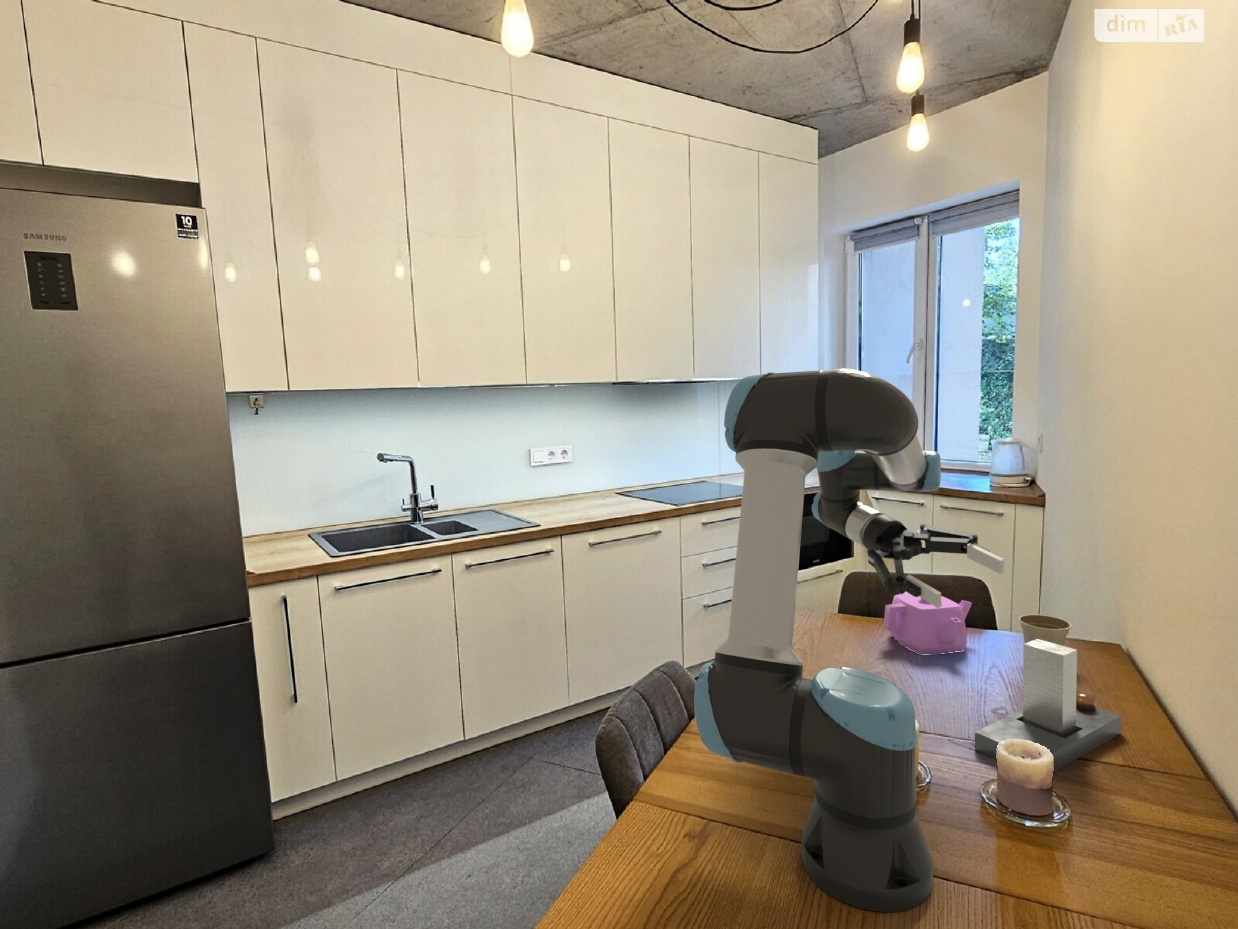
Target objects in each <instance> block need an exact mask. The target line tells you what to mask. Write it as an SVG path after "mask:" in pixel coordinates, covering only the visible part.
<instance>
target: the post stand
mask: <svg viewBox="0 0 1238 929" xmlns="http://www.w3.org/2000/svg"><path fill="white" fill-rule="evenodd" d="M1096 703H1097V696H1096V695H1095V694H1094V693H1092V692H1089V691H1084V690H1076V733H1074V734H1072V735H1070V736H1069V737H1067V738H1062V737H1060V736H1057V735H1055V734H1052V733H1050V732H1047V731H1045V730H1042V729H1039V728H1037V727H1034V726H1032V725H1029V724H1027V723H1024V722H1023V709H1020V710H1018V711H1016V712H1015V713H1012V714H1010V715H1008V716H1006V717H1004V718H1002V719H1000V720H997V721H995V722H993V723H991V724H988V725H987V726H985V727H982V728H980V729H978V730H976V731H974V750H975V751H976V752H980V754H981V753H982V754H983V755H985V756H988V757H990V758H992V757H993V758H992V759H995V760H996V748H997V745H998V743H999V742H1001V741H1003V740H1006V739H1025V740H1030V741H1032V742H1034V743H1039V744H1040V745H1042V746H1045V747H1047V749H1050V752H1051V753H1052V754H1053V756H1054V772H1056V771H1058V770H1060V769H1061V768H1063V767H1064V766H1066V765H1068V764H1070V763H1072V762H1073V761H1075V760H1077V759H1079V758H1080V757H1082V756H1084V755H1085V754H1087V753H1089V752H1091V751H1092V750H1094V749H1096V748H1097V747H1100V746H1101V745H1103V744H1104V743H1106V742H1108V741H1110V740H1112V739H1113V738H1115V737H1117V736H1118V735H1121V730H1122V729H1121V727H1122V715H1119V714H1117V713H1113V712H1111V711H1108V710H1105V709H1101V708H1098V707H1097V704H1096ZM1114 736H1115V737H1114Z"/></svg>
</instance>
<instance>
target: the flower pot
mask: <svg viewBox="0 0 1238 929" xmlns="http://www.w3.org/2000/svg"><path fill="white" fill-rule="evenodd" d="M1017 619H1018V622H1019V623H1020V627H1021V629H1022V635H1023V641H1024V643H1023V644H1025V643H1028V642H1030V641H1033V640H1036V639H1040V640H1043V641H1047V642H1050V643H1054V644H1058V645H1061V646H1065V647H1066V640H1067V636H1068V634H1069V632H1070V630H1071V629H1072V626H1073V624H1072V623H1070V622H1069V621H1068V620H1065V619H1063V618H1059V617H1056V616H1052V615H1051V616H1050V615H1044V614H1023V615H1020V616H1019V617H1018V618H1017Z"/></svg>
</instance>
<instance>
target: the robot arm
mask: <svg viewBox="0 0 1238 929" xmlns="http://www.w3.org/2000/svg"><path fill="white" fill-rule="evenodd" d="M723 422H724V423H723V426H724V428H725V431H724V439H725V442H726V444H727V447H728V448H729V450H731V451H732V452H735V461H736V463H737V464H738V465H739V466H740V468H741V469H742V470H743V474H744V475H743V485H742V494H741V495H742V496H741V503H740V504H741V505H740V513H739V524H738V533H737V534H738V536H737V546H736V554H735V562H734V563H735V564H734V575H733V584H732V592H731V594H732V596H731V603H730V604H731V605H730V613H729V614H730V615H729V625H728V635H727V639H726V640H725V641H724V642H723V643H722V644H720V645H719V646H718V647H717V648H716V649H715V650H714V651H715V653H714V660H711V661H709V662H706V663H705V664H703V666H701V668H700V670H699V672H698V679H697V680H695V681H696V682H695V687H694V698H693V704H694V705H693V707H694V712H693V713H694V720H695V726H696V729H697V732H698V735H699V737H700V740H701V742H702V744H703V745H704V747H705V748H706V749H707V750H708V751H710V752H711V753H712V754H715V755H718V756H721V757H725V758H728V759H730V760H732V761H734V762H735V763H748V764H751V765H755V766H759V767H762V768H766V769H771V770H775V771H778V772H783V773H787V774H790V775H795V776H800V777H804V778H807V779H811V780H813V782H814V799H813V802H812V805H811V806H810V810H809V813H808V816H807V819H806V822H805V824H804V828H803V831H802V834H801V843H800V844H801V862H802V865H803V867H804V870H805V872H806V873H807V875H808V876H809V878H810V879H811V880H812V881H813V882H814V884H816V886H818V887H819V888H820V889H821V890H823V891H824V892H825V893H826V894H827V895H830V896H831V897H833V898H835V899H836V900H839V901H840V902H842V903H844V904H847V905H849V906H852V907H856V908H859V909H863V910H867V911H873V912H885V913H886V912H887V913H888V912H890V913H891V912H901V911H905V910H909V909H911V908H914V907H916V906H918V905H920V904H921V903H923V902H925V901H926V899H927V898H928V897H929V895H930V894H931V893H932V889H933V885H934V865H933V858H932V857H933V856H932V855H931V852H930V849H929V845H928V844H927V839H926V837H925V835H924V831H923V828H922V825H921V823H920V821H919V817H918V815H917V771H916V770H917V768H916V763H917V761H916V760H917V758H916V755H917V754H916V753H917V752H916V751H917V750H916V746H917V745H918V739H919V734H918V732H917V728H916V716H915V713H916V712H915V708H914V704H913V702H912V700H911V699H910V697H909V695H908V694H907V693H906V692H905V691H904V690H903V689H902V688H901V687H899V686H898V685H897V684H896V683H894V682H893V681H890V680H889V679H888V678H885V677H883V676H881V675H878V674H877V673H873V672H870V671H867V670H863V669H859V668H855V667H848V666H840V667H839V668H837V667H834V666H833V667H826V668H822V669H820V670H818V671H817V672H815V674H814V675H813V677H812V679H810V678H805V677H803V668H804V662H803V661H802V659H800V657H799V656H798V655H797V653H796V652H795V650H794V648H793V642H794V641H793V640H794V631H795V630H794V629H795V619H796V618H795V616H796V605H797V604H796V603H797V592H798V590H797V589H798V579H799V578H798V576H799V564H800V551H801V538H802V537H801V536H802V524H803V515H804V514H803V513H804V501H805V500H804V499H805V488H806V477H807V476H808V475H809V474H810V473H812V471H814V470H815V469H816V471H817V476H818V481H819V482H818V483H819V491H818V492H817V493H816V494H815V496H814V497H813V503H812V504H811V512H812V514H813V517H814V518H815V519H816V520H818V521H819V522H820V523H821V524H823V525H824V526H826V527H827V528H828V529H830V530H831V529H832V530H834V531H835V532H837V533H838V534H840V535H843V536H844V537H846V538H847V539H849V540H851V541H852V542H854V543H856V544H858V545H859V546H861V547H862V548H865V549H866V553H867V554H866V555H867V563H868V565H870V566H872V567H873V568H874V570H875V571H876V573H877V575H878V578H879V579H880V581H881V583H882V585H883V587H884V589H885V591H886V592H888V593H894V591H895V590H897V593H898V594H899V593H901V594H903V593H905V591H906V592H907V593H909V594H911V595H912V596H914V597H918V596H919V597H921V598H922V599H924V600H925V601H927V602H929V603H930V604H932V605H934V606H935V607H937V608H939V607H941V606H942V604H941V596H942V592H941V591H939V590H937V589H935V588H933V586H930V585H929V584H926V583H925V582H923V581H922V580H920V579H918V578H916V577H914V576H913V575H912V574H908V575H906V577H905V571H904V565H903V564H904V562H903V561H905V560H906V561H909V560H911V559H913V558H914V557H917V556H919V555H922V554H924V555H928V554H930V553H944V554H962V555H966V557H967V559H969V560H972V561H973V562H975V563H978V564H979V565H982V566H983V567H986V568H988V569H990V570H991V571H993V572H996V573H998V574H1000V575H1002V574H1003V573H1005V568H1004V567H1005V558H1003V557H1001V556H999V555H996V554H994V553H993V552H991V551H990V550H989V549H987V548H986V547H983V546H981V545H980V544H978V542H979V539H978V538H979V536H978V534H976V533H972V532H967V531H962V530H961V531H960V530H954V529H950V528H949V529H948V528H941V527H937V526H932V525H929V524H927V523H920V524H919V529H917V530H916V531H915V530H911V529H908V528H907V527H906V526H905V525H904V524H903V523H902V522H901V521H899V520H897V519H895V518H893V517H892V516H889V515H887V514H885V513H884V512H882V511H879V510H877V509H875V508H873V507H871V506H869V505H868V504H865V503H864V502H862V501H861V494H860V493H861V491H892V492H893V491H898V492H899V491H900V492H903V491H904V492H917V493H923V492H935V491H938V490H939V489H940V488H941V486H940V485H941V477H942V476H941V475H942V474H941V473H942V466H941V465H942V464H941V463H942V462H941V460H942V459H941V455H940V453H939V452H938V451H929V450H925V449H923V448H922V446H921V442H920V441H919V439H918V435H917V433H918V430H919V417H918V413H917V410H916V408H915V406H914V404H913V402H912V401H911V399H910V398H909V397H908V395H906V394H905V393H904V392H903V391H902V390H901V389H900V388H898V387H896V385H893V384H892V383H891V382H889V381H887V380H884V379H883V378H880V377H879V376H876V375H873V374H871V373H868V372H866V371H861V370H857V369H851V368H833V369H823V370H822V369H821V370H807V371H805V370H804V371H790V372H776V373H775V372H770V371H768V372H765V373H762V374H757V375H756V374H755V375H748V376H745V377H743V378H741V379H740V381H739V382H737V383H736V384H735V386H734V387H733V388H732V390H731V391H730V394H729V396H728V399H727V403H726V407H725V412H724V420H723ZM922 541H924V546H925V547H923V542H922ZM884 559H889V560H893V563H894V569H895V570H894V571H895V577H893V576H892V574H891V572H890V570H889V568H888V567H887V565H886V563H885V561H884Z"/></svg>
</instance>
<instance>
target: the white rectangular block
mask: <svg viewBox="0 0 1238 929" xmlns="http://www.w3.org/2000/svg"><path fill="white" fill-rule="evenodd" d="M1077 667H1078V649H1075V648H1071V647H1069V646H1068V647H1067V646H1066V645H1065V646H1061V645H1058V644H1054V643H1050V642H1047V641H1043V640H1040V639H1036V640H1033V641H1030V642H1028V643H1023V667H1022V668H1023V672H1022V673H1023V674H1022V675H1023V679H1022V680H1023V681H1022V683H1023V684H1022V687H1023V688H1022V689H1023V692H1022V695H1023V696H1022V697H1023V698H1022V710H1023V722H1024V723H1027V724H1029V725H1032V726H1034V727H1037V728H1039V729H1042V730H1045V731H1047V732H1050V733H1052V734H1055V735H1057V736H1060V737H1062V738H1067V737H1069V736H1070V735H1072V734H1074V733H1076V691H1077V677H1078V676H1077V674H1078V668H1077Z"/></svg>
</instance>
